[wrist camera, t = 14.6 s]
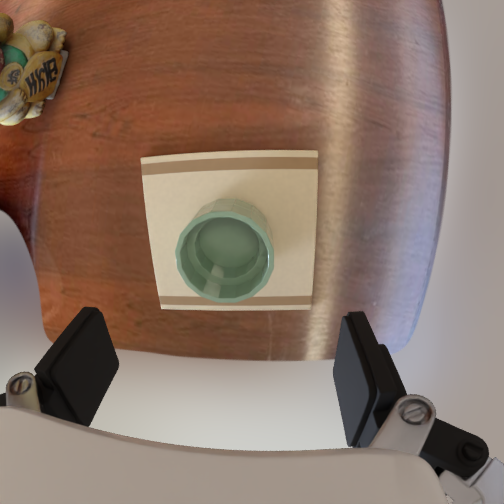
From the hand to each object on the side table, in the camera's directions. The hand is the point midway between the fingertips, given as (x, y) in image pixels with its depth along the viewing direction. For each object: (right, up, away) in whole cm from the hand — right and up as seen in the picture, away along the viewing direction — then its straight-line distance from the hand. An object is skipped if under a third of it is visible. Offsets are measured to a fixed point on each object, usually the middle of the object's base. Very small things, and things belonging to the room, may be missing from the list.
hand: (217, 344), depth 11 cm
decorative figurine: (-19, +20, +9) cm, 29 cm away
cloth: (0, +5, +14) cm, 15 cm away
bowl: (0, +5, +14) cm, 15 cm away
